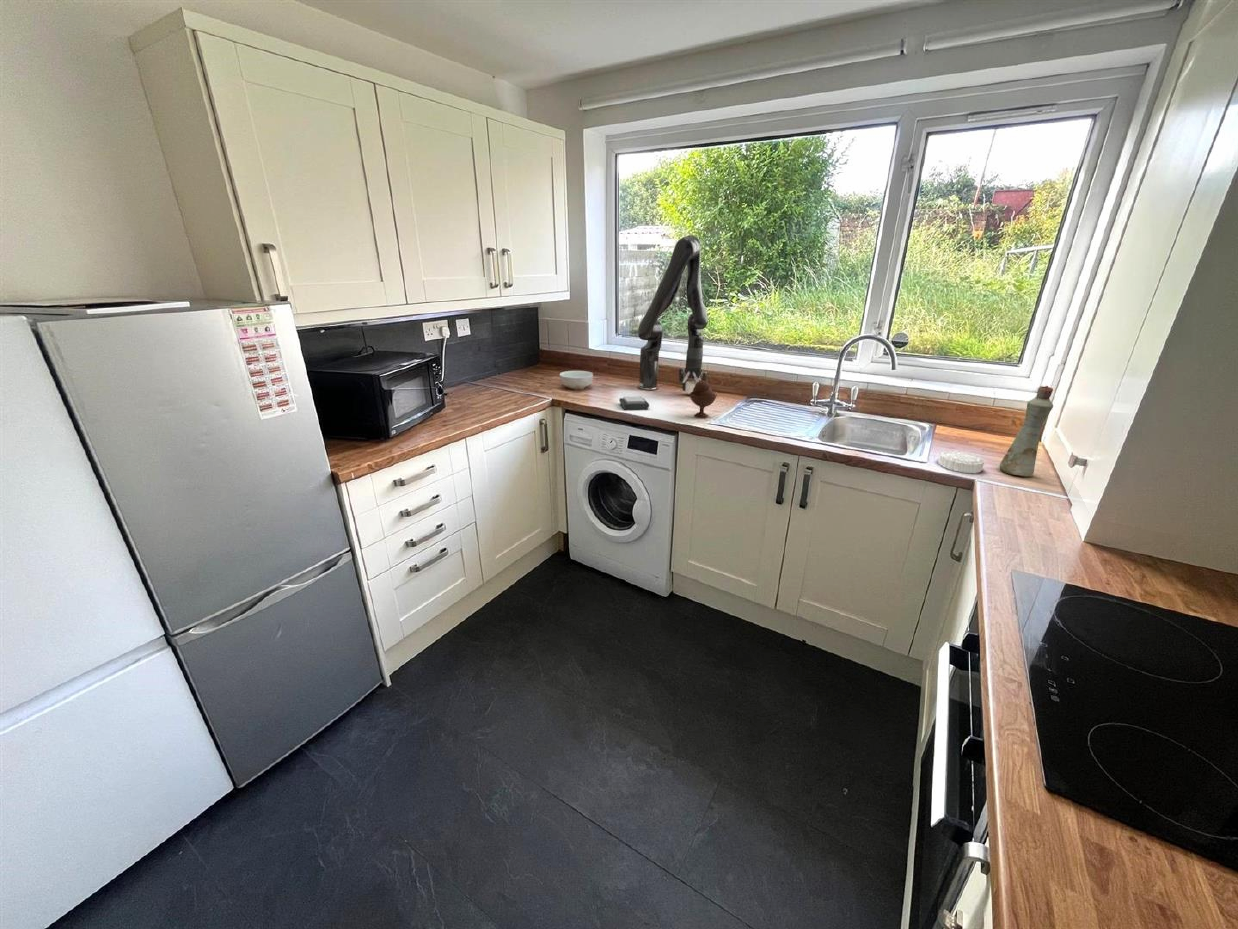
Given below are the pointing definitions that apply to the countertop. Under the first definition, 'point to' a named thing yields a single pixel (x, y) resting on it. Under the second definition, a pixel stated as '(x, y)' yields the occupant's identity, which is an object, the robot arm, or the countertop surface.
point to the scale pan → (634, 400)
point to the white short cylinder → (689, 387)
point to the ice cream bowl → (702, 397)
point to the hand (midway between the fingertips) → (691, 391)
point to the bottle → (1028, 436)
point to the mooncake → (961, 462)
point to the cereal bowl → (576, 379)
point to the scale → (634, 405)
